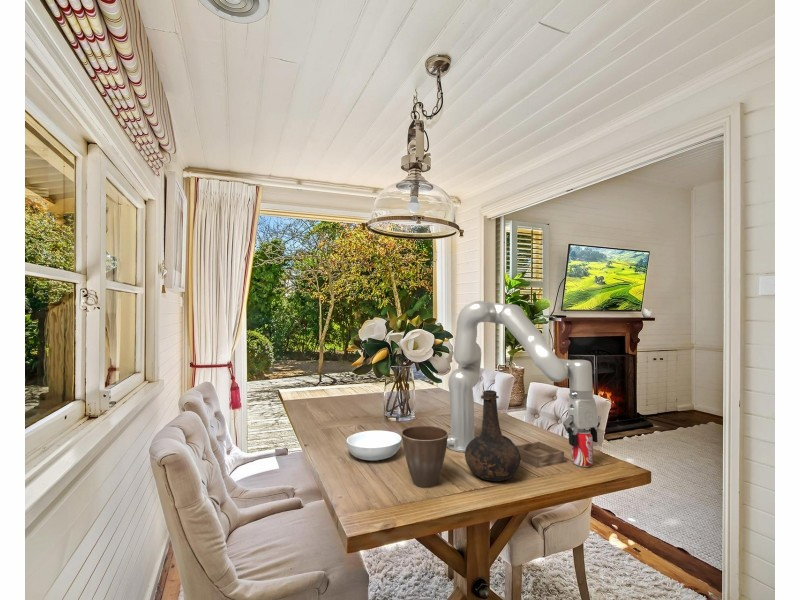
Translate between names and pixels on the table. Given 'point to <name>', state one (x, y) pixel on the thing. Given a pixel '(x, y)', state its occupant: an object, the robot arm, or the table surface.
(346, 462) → the table surface
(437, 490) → the table surface
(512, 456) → the glass bottle
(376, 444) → the serving bowl
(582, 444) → the soda can
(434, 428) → the plant pot
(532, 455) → the open storage box
